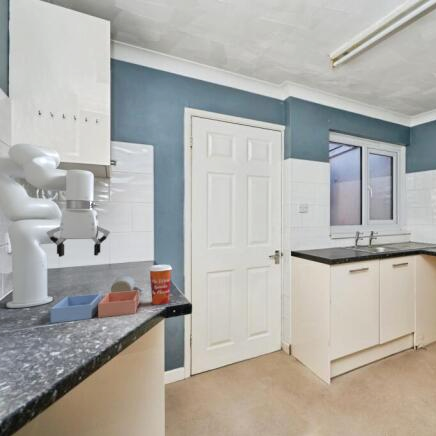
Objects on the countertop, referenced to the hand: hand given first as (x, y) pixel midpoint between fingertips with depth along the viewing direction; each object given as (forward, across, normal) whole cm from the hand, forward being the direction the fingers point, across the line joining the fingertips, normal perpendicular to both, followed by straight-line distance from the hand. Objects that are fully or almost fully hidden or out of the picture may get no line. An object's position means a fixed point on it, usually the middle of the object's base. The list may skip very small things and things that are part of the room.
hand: (79, 255), depth 108 cm
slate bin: (+19, -1, +3) cm, 19 cm away
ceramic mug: (+20, -12, -18) cm, 29 cm away
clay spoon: (+19, -13, +3) cm, 23 cm away
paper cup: (+19, -25, 0) cm, 32 cm away
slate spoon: (+19, -1, +3) cm, 19 cm away
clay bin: (+19, -13, +3) cm, 23 cm away
